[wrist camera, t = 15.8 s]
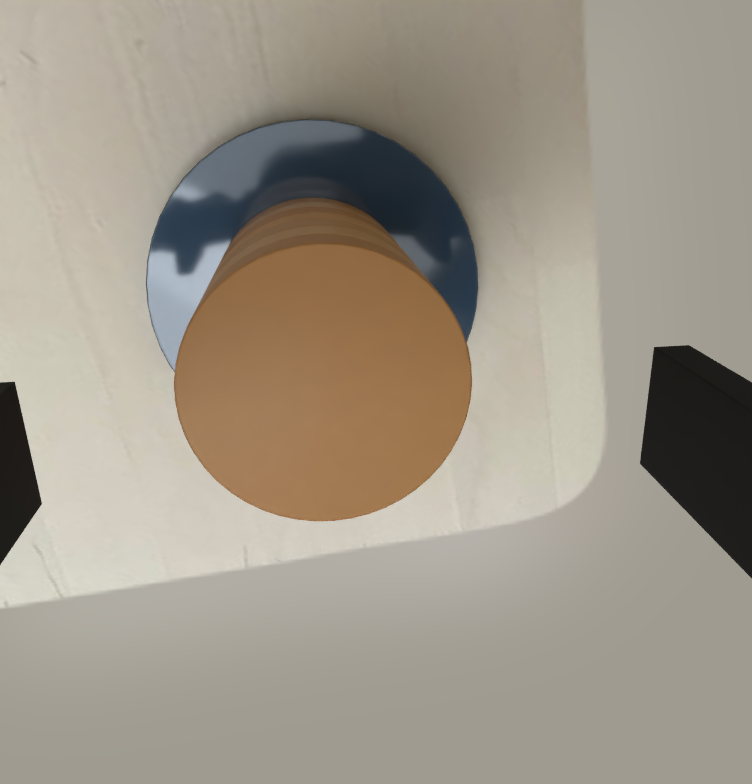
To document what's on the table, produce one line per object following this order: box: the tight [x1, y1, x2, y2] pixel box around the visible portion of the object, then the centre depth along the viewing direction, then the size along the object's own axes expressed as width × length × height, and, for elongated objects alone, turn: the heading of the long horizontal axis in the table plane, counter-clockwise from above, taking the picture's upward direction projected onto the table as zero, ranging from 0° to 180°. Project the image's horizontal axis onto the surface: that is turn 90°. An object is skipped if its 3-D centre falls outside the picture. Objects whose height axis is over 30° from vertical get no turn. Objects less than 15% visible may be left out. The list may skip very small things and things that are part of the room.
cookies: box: [174, 197, 472, 521], centre depth 21 cm, size 7×7×10 cm
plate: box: [146, 119, 478, 372], centre depth 26 cm, size 12×12×1 cm
